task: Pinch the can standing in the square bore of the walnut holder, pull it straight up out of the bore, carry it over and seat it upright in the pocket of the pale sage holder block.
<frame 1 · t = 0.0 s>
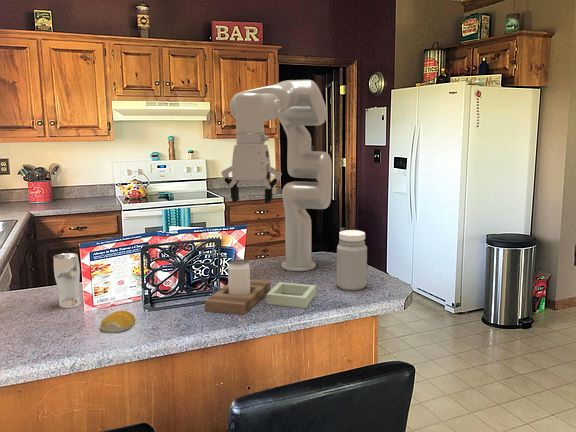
hand: (251, 202, 143), 31 cm above the countertop, fingers open, 9 cm apart
can: (239, 300, 156), resting in walnut holder
sage holder: (291, 299, 156), on the countertop
beer glass: (70, 305, 153), on the countertop
walnut holder: (239, 299, 156), on the countertop
jar: (351, 287, 168), on the countertop
bread roll: (118, 327, 137), on the countertop
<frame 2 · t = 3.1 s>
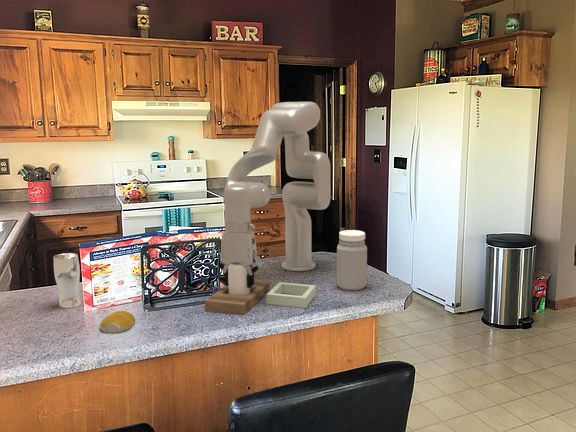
hand: (239, 285, 155), 5 cm above the countertop, fingers closed on can, 6 cm apart
can: (239, 300, 156), resting in walnut holder, touching gripper
everything else where it was.
when the fingers open (6 cm above the countertop, at t = 10.8 s): can drops 1 cm, resting in sage holder.
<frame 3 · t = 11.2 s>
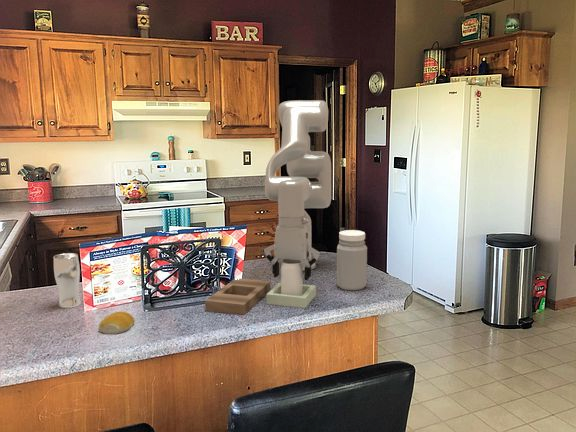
hand: (291, 277, 155), 7 cm above the countertop, fingers open, 9 cm apart
can: (291, 299, 156), resting in sage holder
everything else where it was.
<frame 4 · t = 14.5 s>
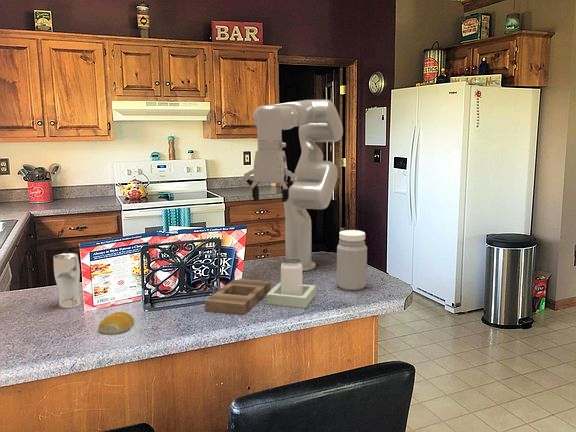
hand: (270, 200, 163), 28 cm above the countertop, fingers open, 9 cm apart
nothing on the countertop moved.
at the end: can 0.1 cm off-centre on the sage holder, point 0.0 cm above the sage holder's base; can tilted 0°; the gripper is holding nothing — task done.
